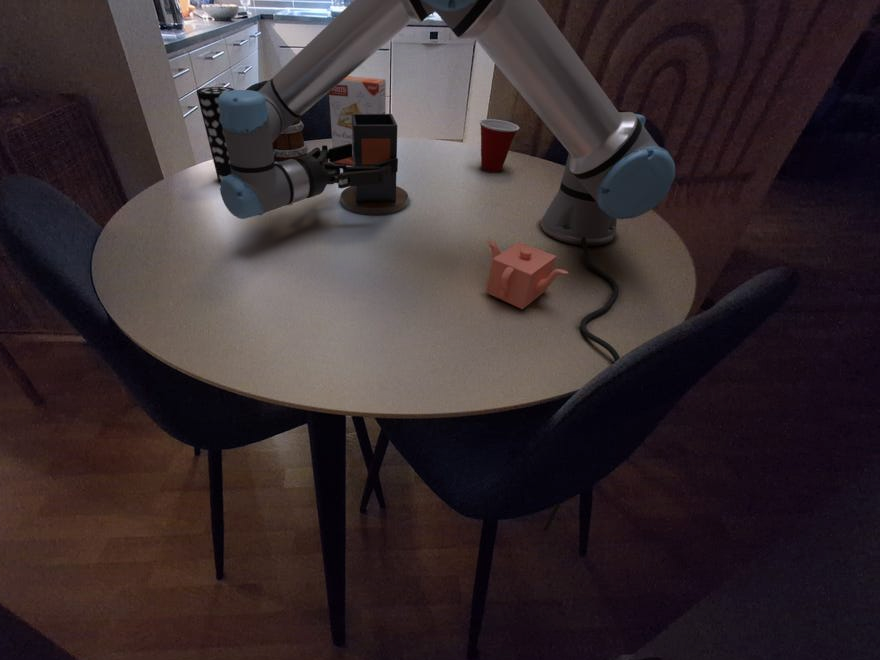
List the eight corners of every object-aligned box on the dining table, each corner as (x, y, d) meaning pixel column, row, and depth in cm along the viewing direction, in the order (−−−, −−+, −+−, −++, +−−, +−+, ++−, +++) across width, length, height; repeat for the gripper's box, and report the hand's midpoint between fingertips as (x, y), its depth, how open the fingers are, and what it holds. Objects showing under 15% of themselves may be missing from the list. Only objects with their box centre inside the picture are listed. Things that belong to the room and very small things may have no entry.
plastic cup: (514, 176, 120) (523, 128, 112) (475, 175, 120) (482, 127, 112) (507, 163, 128) (516, 118, 120) (471, 162, 128) (477, 117, 120)
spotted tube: (253, 183, 111) (236, 93, 98) (219, 186, 109) (197, 94, 95) (249, 172, 117) (232, 86, 103) (217, 175, 114) (195, 87, 101)
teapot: (537, 327, 68) (551, 281, 63) (460, 290, 76) (467, 246, 70) (571, 297, 75) (586, 253, 69) (498, 266, 82) (506, 224, 77)
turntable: (410, 215, 99) (410, 208, 98) (339, 215, 98) (339, 208, 97) (405, 189, 111) (405, 182, 110) (342, 188, 110) (342, 182, 109)
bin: (390, 186, 107) (391, 113, 97) (396, 202, 100) (397, 125, 89) (354, 187, 106) (351, 113, 96) (356, 203, 99) (353, 125, 88)
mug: (319, 153, 130) (307, 98, 118) (283, 174, 123) (267, 117, 112) (293, 145, 135) (279, 92, 124) (257, 164, 128) (239, 109, 117)
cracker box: (332, 163, 124) (326, 77, 110) (341, 157, 129) (335, 73, 115) (379, 169, 121) (378, 82, 108) (385, 163, 126) (386, 78, 112)
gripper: (263, 181, 93) (335, 161, 106) (344, 217, 82) (415, 189, 94) (257, 144, 88) (333, 127, 101) (342, 176, 77) (417, 152, 89)
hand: (373, 156), depth 98 cm, fingers open, 13 cm apart
